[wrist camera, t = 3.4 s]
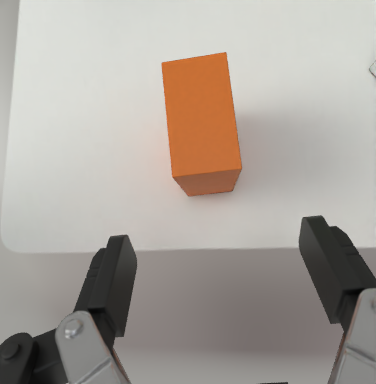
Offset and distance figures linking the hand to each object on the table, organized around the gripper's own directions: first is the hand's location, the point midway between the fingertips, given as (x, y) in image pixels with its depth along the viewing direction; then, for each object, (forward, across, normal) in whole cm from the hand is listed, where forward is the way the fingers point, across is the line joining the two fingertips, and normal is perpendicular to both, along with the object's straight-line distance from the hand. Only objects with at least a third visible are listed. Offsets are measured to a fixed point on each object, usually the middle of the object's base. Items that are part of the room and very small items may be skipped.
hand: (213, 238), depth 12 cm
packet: (+15, 0, +4) cm, 16 cm away
